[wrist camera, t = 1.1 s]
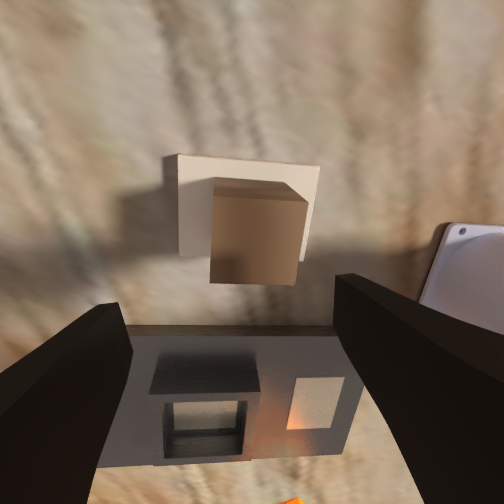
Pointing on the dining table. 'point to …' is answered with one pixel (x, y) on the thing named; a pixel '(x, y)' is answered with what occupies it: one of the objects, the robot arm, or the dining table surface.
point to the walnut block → (256, 232)
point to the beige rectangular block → (207, 167)
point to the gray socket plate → (232, 395)
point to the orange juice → (295, 501)
